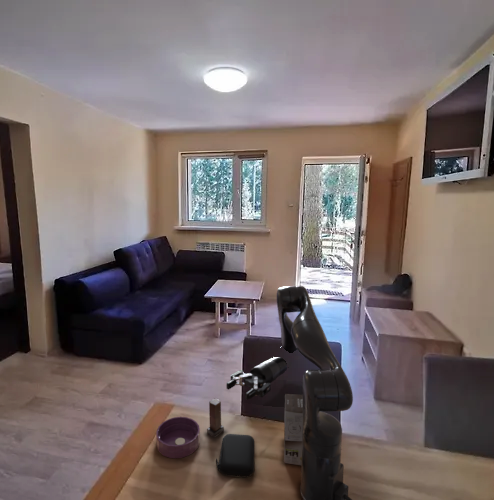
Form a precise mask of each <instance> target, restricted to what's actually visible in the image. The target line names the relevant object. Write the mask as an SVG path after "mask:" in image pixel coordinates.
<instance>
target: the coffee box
mask: <svg viewBox="0 0 494 500" xmlns="http://www.w3.org/2000/svg"><path fill="white" fill-rule="evenodd" d="M283 422H284V426H283V427H284V430H283V431H284V432H283V463H284V464H290V465H296V466H301V464H302V431H303V397H302V394H295V393H294V394H292V393H285V395H284V421H283Z"/></svg>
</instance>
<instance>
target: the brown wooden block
mask: <svg viewBox="0 0 494 500" xmlns="http://www.w3.org/2000/svg"><path fill="white" fill-rule="evenodd" d="M208 405H209V408H208V409H209V411H208V412H209V427H207V428H206V433H207V434H208V435H209V436H211V437H212V438H216V437H217V436H219V435H220V434H221V433H223V432H224V431H225V426H224V425H222V402H221V400H219V399H217V398H213V399H212V400H210V401H209V402H208Z"/></svg>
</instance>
